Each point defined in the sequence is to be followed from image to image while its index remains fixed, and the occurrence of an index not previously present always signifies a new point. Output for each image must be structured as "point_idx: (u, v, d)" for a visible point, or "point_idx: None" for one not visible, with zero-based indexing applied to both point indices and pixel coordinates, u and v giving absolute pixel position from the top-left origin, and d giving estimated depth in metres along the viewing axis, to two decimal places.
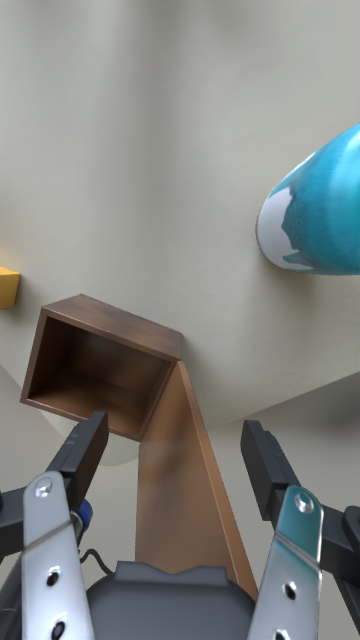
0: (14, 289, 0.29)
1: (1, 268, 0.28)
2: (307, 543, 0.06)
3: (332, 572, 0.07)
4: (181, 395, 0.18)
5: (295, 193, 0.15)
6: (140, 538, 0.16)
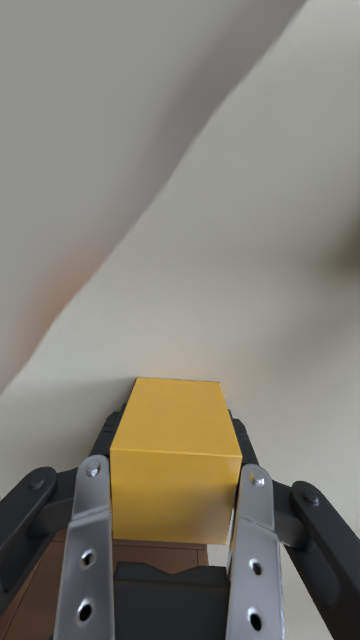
0: None
1: None
2: (263, 515, 0.07)
3: (279, 540, 0.08)
4: None
5: None
6: None
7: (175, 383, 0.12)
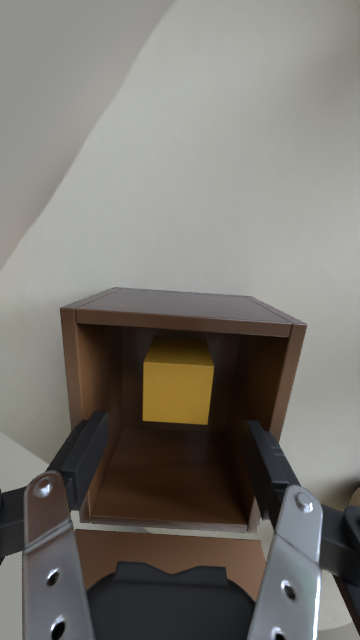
0: None
1: None
2: (307, 543, 0.06)
3: (331, 572, 0.07)
4: None
5: None
6: None
7: (177, 340, 0.19)
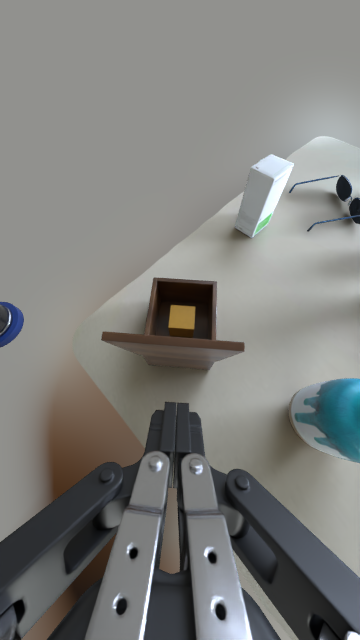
0: (181, 336, 0.44)
1: None
2: (207, 499, 0.07)
3: None
4: None
5: (340, 379, 0.30)
6: None
7: None
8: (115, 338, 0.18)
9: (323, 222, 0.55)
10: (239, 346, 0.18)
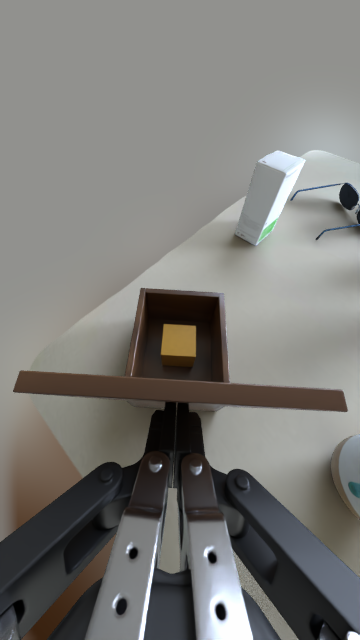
0: (178, 365, 0.33)
1: None
2: (207, 499, 0.07)
3: None
4: None
5: None
6: None
7: None
8: (48, 387, 0.08)
9: (334, 229, 0.49)
10: (334, 399, 0.08)
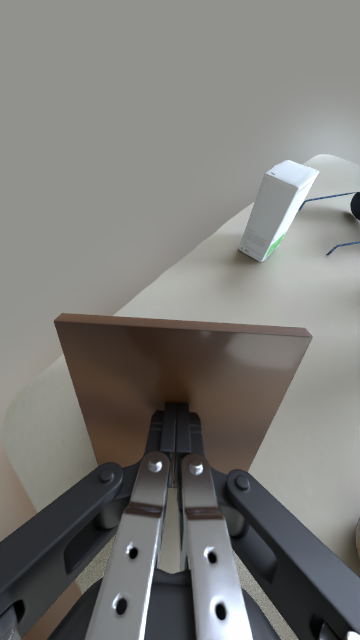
0: None
1: None
2: (207, 499, 0.07)
3: None
4: None
5: None
6: None
7: None
8: (81, 319, 0.10)
9: (347, 244, 0.45)
10: (300, 331, 0.10)
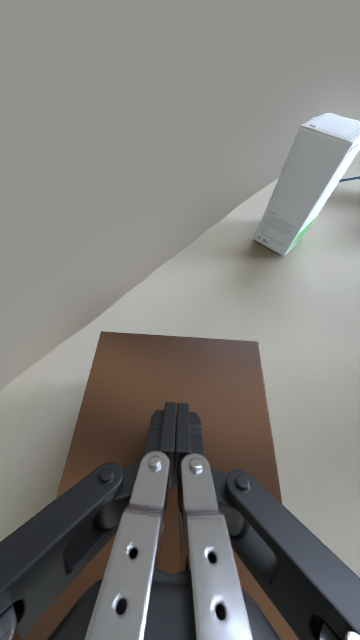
0: None
1: None
2: (207, 499, 0.07)
3: None
4: None
5: None
6: None
7: None
8: (117, 333, 0.17)
9: None
10: None
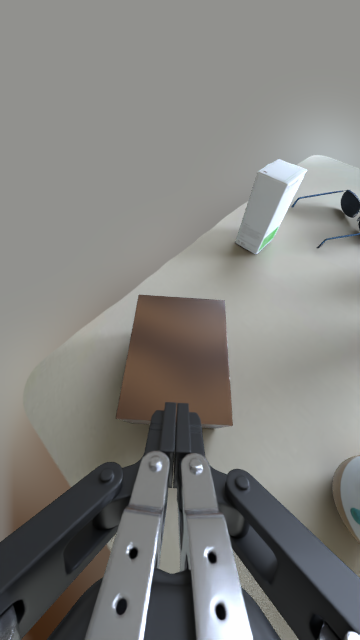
0: None
1: None
2: (207, 499, 0.07)
3: None
4: None
5: None
6: None
7: None
8: (147, 296, 0.30)
9: (335, 238, 0.48)
10: None
